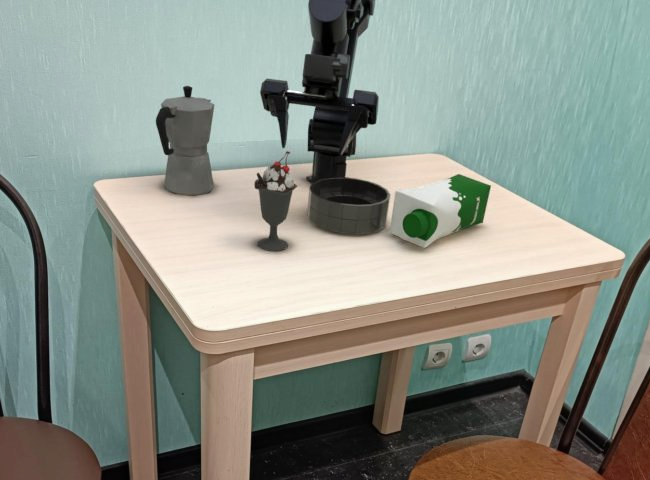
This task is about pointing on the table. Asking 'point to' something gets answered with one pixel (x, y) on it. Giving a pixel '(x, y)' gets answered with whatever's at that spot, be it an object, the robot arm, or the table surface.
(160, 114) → the coffeepot
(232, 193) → the table surface
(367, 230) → the bowl
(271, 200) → the sundae
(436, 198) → the milk carton
